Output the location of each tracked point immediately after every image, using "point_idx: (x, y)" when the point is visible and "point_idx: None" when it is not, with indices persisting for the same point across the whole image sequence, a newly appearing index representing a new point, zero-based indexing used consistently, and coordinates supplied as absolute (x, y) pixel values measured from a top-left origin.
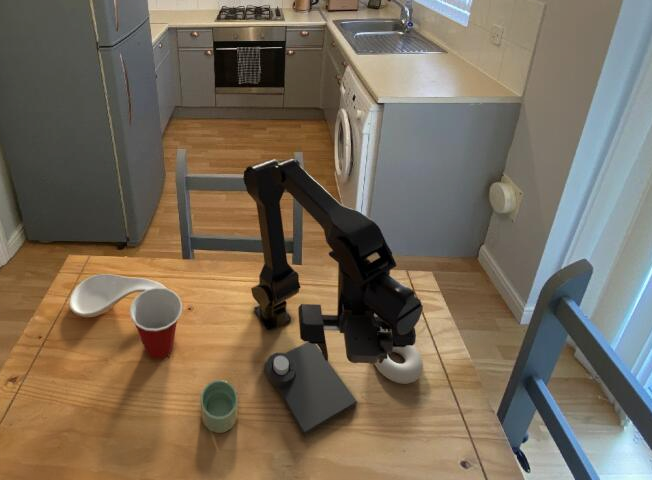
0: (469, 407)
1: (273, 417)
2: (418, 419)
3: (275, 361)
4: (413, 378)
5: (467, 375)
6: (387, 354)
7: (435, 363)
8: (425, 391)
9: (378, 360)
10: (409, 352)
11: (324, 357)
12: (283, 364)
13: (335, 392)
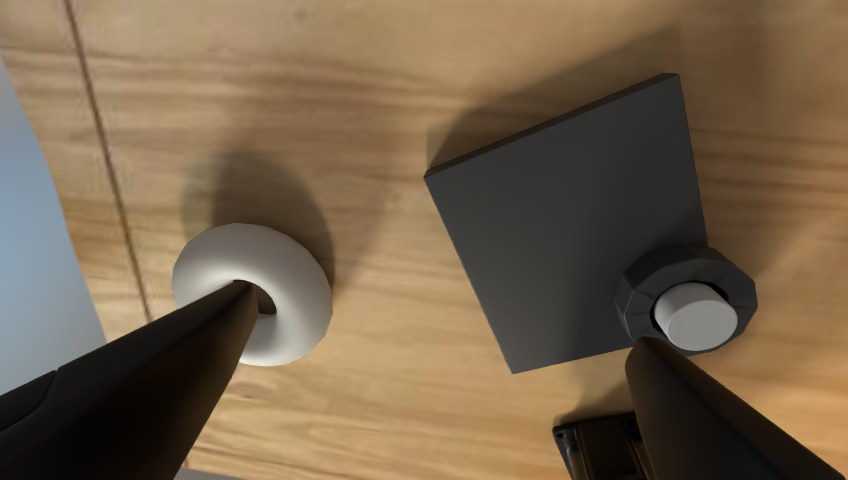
0: (75, 146)
1: (755, 149)
2: (232, 117)
3: (725, 333)
4: (210, 232)
5: (72, 233)
6: (94, 350)
7: (154, 272)
8: (195, 199)
9: (252, 300)
10: None
11: (700, 369)
12: (695, 319)
13: (492, 211)
